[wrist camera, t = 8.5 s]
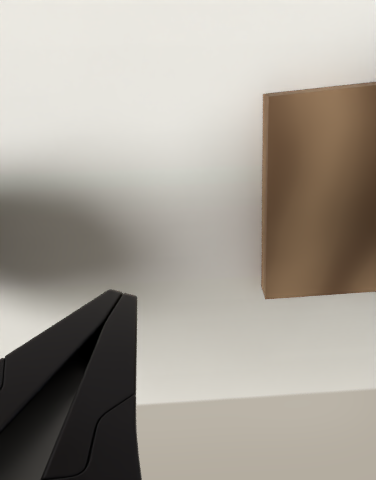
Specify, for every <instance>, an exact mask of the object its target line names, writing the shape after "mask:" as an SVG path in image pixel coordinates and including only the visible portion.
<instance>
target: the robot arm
mask: <svg viewBox="0 0 376 480" xmlns="http://www.w3.org/2000/svg"><path fill="white" fill-rule="evenodd" d="M136 358H137V297H136V296H134V295H131V294H127V293H125V294H123V293H122V292H120V291H116V290H112V289H110V290H108V291H106V292H104V293H103V294H101V295H100V296H98V297H97V298H95V299H94V300H92V301H90V302H89V303H87V304H86V305H84V306H83V307H81V308H80V309H78V310H76V311H75V312H73V313H72V314H70V315H69V316H67V317H66V318H64V319H62V320H61V321H59V322H58V323H56V324H55V325H53V326H51V327H50V328H48V329H47V330H45V331H44V332H42V333H41V334H39V335H37V336H36V337H34V338H33V339H31V340H30V341H28V342H27V343H25V344H23V345H22V346H20V347H19V348H17V349H16V350H14V351H13V352H11V353H9V354H8V355H6V356H5V359H4V358H1V359H0V480H142V478H141V470H140V463H139V454H138V443H137V433H136Z"/></svg>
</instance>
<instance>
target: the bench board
mask: <svg viewBox="0 0 376 480" xmlns="http://www.w3.org/2000/svg"><path fill="white" fill-rule="evenodd" d="M261 286H262V290H263V293H264V296H265V299H276V298H290V297H304V296H318V295H332V294H346V293H361V292H375V291H376V82H370V83H361V84H352V85H342V86H333V87H324V88H315V89H305V90H296V91H287V92H278V93H268V94H263V160H262V280H261Z"/></svg>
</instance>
